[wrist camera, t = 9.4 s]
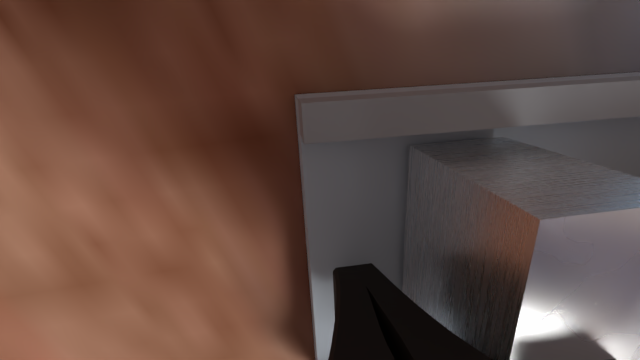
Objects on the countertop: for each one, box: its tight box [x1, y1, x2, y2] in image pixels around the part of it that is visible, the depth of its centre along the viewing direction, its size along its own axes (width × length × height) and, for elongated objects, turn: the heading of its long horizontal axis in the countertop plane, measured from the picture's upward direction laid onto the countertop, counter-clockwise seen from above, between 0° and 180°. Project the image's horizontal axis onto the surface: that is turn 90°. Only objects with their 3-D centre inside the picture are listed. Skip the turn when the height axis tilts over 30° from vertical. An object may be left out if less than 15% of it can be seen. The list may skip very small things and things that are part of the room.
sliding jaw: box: [402, 137, 640, 360], centre depth 8 cm, size 3×9×6 cm, turn 3°
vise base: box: [295, 72, 640, 360], centre depth 10 cm, size 15×12×6 cm
